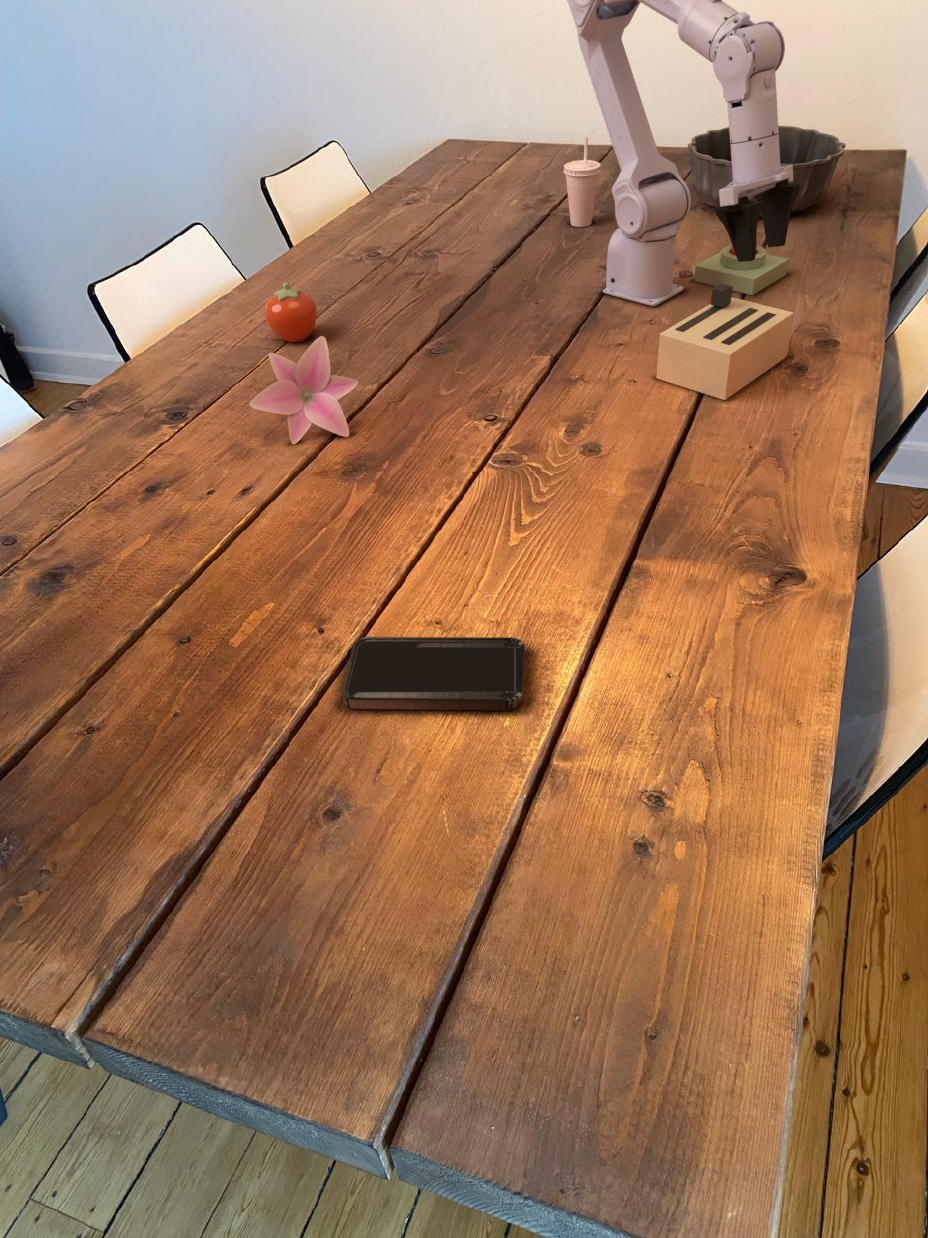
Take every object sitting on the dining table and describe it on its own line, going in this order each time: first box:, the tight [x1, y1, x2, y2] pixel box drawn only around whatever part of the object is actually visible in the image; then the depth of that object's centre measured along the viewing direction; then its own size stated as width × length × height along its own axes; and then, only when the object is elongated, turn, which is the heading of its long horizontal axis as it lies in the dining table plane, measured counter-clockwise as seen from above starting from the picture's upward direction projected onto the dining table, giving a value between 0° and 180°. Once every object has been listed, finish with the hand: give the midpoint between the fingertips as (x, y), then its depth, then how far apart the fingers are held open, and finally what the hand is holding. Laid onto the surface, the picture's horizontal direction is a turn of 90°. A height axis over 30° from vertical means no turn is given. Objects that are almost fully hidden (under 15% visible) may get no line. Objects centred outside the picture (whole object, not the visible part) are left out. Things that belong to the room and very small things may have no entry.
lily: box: [249, 335, 359, 445], centre depth 114 cm, size 12×12×10 cm
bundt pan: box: [687, 125, 847, 218], centre depth 168 cm, size 26×26×10 cm
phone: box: [341, 636, 525, 711], centre depth 80 cm, size 8×1×15 cm
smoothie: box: [563, 136, 602, 228], centre depth 164 cm, size 6×6×14 cm
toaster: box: [656, 296, 795, 401], centre depth 120 cm, size 10×15×6 cm, turn 137°
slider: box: [710, 284, 733, 308], centre depth 121 cm, size 2×2×2 cm
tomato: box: [264, 281, 318, 343], centre depth 135 cm, size 7×7×8 cm
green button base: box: [693, 244, 790, 296], centre depth 143 cm, size 10×10×4 cm
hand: (761, 253), depth 123 cm, fingers open, 7 cm apart
